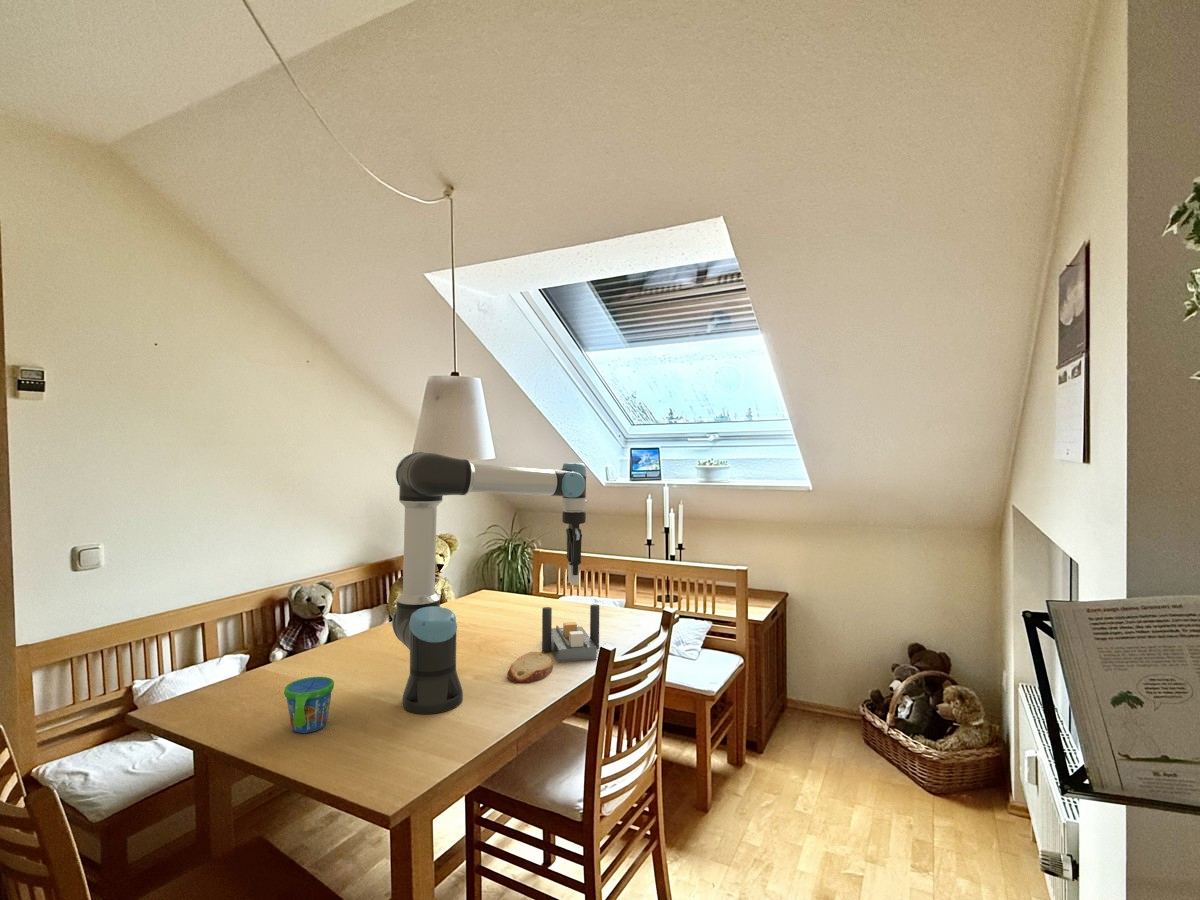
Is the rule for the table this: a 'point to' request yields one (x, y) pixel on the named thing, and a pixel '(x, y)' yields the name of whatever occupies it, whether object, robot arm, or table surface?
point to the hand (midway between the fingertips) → (573, 583)
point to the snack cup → (309, 703)
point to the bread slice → (530, 668)
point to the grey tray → (571, 653)
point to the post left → (546, 629)
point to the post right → (594, 624)
